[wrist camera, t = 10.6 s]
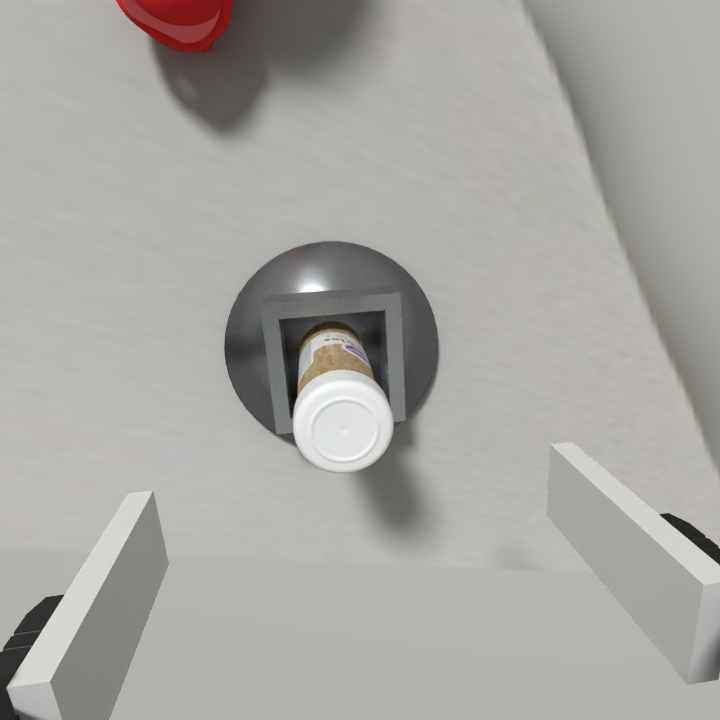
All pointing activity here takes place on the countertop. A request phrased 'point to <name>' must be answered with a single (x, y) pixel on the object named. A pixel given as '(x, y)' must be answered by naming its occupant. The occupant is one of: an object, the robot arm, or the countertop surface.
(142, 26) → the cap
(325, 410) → the sprinkles bottle
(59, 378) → the countertop surface
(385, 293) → the square hole disc
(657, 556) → the robot arm
